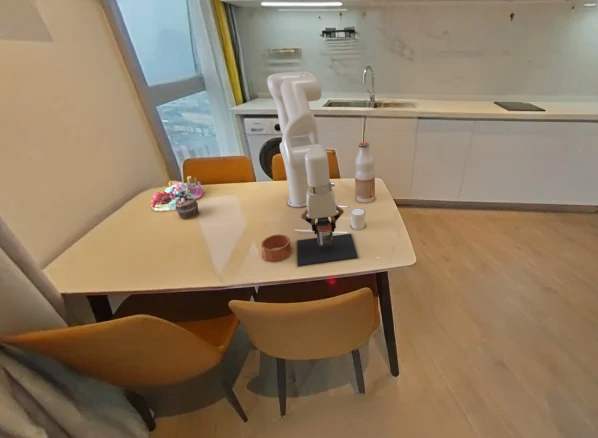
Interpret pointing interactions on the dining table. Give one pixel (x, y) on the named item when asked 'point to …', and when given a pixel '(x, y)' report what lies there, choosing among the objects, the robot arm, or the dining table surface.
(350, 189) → the dining table surface
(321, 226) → the supplement bottle
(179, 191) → the candy platter
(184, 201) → the cupcake
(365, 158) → the fruit juice
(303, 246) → the mat
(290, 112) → the robot arm
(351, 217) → the white cup
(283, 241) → the holder
